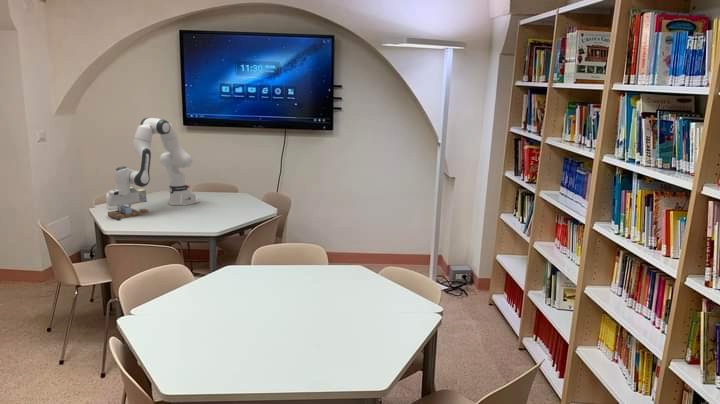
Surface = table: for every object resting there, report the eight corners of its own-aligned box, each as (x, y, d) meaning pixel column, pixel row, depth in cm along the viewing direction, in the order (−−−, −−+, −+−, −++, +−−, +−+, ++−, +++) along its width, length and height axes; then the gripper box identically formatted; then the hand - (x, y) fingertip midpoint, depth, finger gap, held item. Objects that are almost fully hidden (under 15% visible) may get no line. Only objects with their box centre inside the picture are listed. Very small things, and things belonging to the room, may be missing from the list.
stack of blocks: (142, 200, 398) (141, 184, 395) (146, 201, 394) (145, 186, 391) (115, 204, 381) (114, 188, 379) (119, 206, 378) (118, 189, 375)
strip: (123, 212, 355) (123, 204, 354) (132, 215, 345) (131, 207, 344) (117, 212, 352) (117, 205, 351) (126, 216, 343) (125, 208, 341)
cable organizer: (129, 206, 377) (128, 190, 375) (130, 209, 368) (128, 193, 366) (107, 207, 371) (105, 192, 369) (107, 211, 362) (105, 195, 359)
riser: (145, 212, 361) (145, 208, 361) (148, 213, 358) (148, 209, 358) (139, 213, 358) (139, 209, 358) (142, 214, 355) (142, 210, 355)
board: (131, 212, 360) (131, 208, 359) (141, 216, 349) (141, 212, 348) (108, 215, 348) (107, 211, 348) (117, 220, 338) (117, 216, 337)
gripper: (136, 188, 355) (137, 207, 358) (105, 192, 340) (107, 212, 343) (140, 189, 350) (141, 209, 353) (109, 193, 336) (111, 213, 339)
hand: (124, 210), depth 348 cm, fingers closed on strip, 4 cm apart
